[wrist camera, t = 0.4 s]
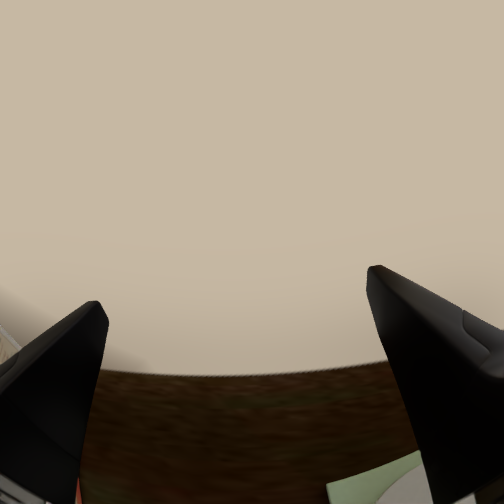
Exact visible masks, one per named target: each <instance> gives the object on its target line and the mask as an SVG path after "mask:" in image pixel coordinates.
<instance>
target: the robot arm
mask: <svg viewBox="0 0 504 504" xmlns="http://www.w3.org/2000/svg"><path fill="white" fill-rule="evenodd" d="M366 292H367V297H368V300H369V304H370V307H371V311H372V314H373V317H374V321H375V324H376V328H377V332H378V334H379V338H380V340H381V343H382V345H383V348H384V350H385V353H386V355H387V358H388V361H389V363H390V366H391V368H392V371H393V374H394V376H395V379H396V382H397V384H398V387H399V390H400V393H401V395H402V398H403V401H404V404H405V407H406V410H407V413H408V416H409V419H410V422H411V425H412V428H413V431H414V434H415V438H416V441H417V444H418V448H419V451H420V452H421V453H420V455H421V458H422V462H423V466H424V469H425V473H426V477H427V481H428V484H429V488H430V493H431V497H432V501H433V504H455V503H457V502H459V501H461V500H463V499H465V498H467V497H469V496H471V495H474V499H475V503H476V504H504V331H502V330H500V329H498V328H496V327H494V326H492V325H490V324H488V323H486V322H485V321H483V320H481V319H479V318H477V317H476V316H474V315H472V314H470V313H468V312H467V311H465V310H462V309H461V308H460V307H458V306H456V305H454V304H453V303H451V302H449V301H447V300H446V299H444V298H442V297H440V296H438V295H436V294H435V293H433V292H431V291H429V290H427V289H426V288H424V287H422V286H420V285H418V284H416V283H414V282H413V281H411V280H409V279H407V278H405V277H403V276H401V275H399V274H397V273H395V272H393V271H392V270H390V269H388V268H386V267H384V266H382V265H376V266H370V267H369V268H368V271H367V286H366ZM108 327H109V320H108V317H107V315H106V313H105V311H104V310H103V308H102V306H101V304H100V302H98V301H88V302H86V303H85V304H83V305H82V306H81V307H79V308H78V309H76V310H75V311H74V312H72V313H71V314H69V315H68V316H66V317H65V318H63V319H62V320H61V321H59V322H58V323H56V324H55V325H54V326H52V327H51V328H49V329H48V330H47V331H45V332H44V333H42V334H41V335H40V336H38V337H37V338H36V339H34V340H33V341H32V342H30V343H29V344H28V345H26V346H25V347H23V348H22V349H21V350H20V351H18V352H17V353H15V354H14V355H13V356H11V357H10V358H9V359H7V360H6V361H5V362H3V363H2V364H1V365H0V504H46V502H49V503H51V504H75V502H76V492H77V484H78V476H79V468H80V460H81V454H82V448H83V442H84V437H85V432H86V427H87V422H88V417H89V412H90V408H91V403H92V399H93V395H94V390H95V386H96V382H97V379H98V375H99V371H100V367H101V363H102V359H103V354H104V348H105V343H106V337H107V332H108Z"/></svg>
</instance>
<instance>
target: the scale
mask: <svg viewBox="0 0 504 504" xmlns="http://www.w3.org/2000/svg"><path fill="white" fill-rule="evenodd" d="M420 453H421V452H420V451H419V450H418V451H416V452H414V453H411V454H409V455H407V456H405V457H402V458H400V459H398V460H395V461H393V462H391V463H388V464H386V465H383V466H380V467H378V468H375V469H372V470H370V471H367V472H364V473H361V474H358V475H355V476H352V477H349V478H346V479H342V480H339V481H335V482H332V483H328V484H326V491H327V495H328V499H329V503H330V504H433V501H432V497H431V493H430V488H429V484H428V481H427V477H426V473H425V469H424V466H423V462H422V458H421V455H420ZM455 504H476V503H475V499H474V495H471V496H469V497H467V498H465V499H463V500H461V501H459V502H457V503H455Z"/></svg>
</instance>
